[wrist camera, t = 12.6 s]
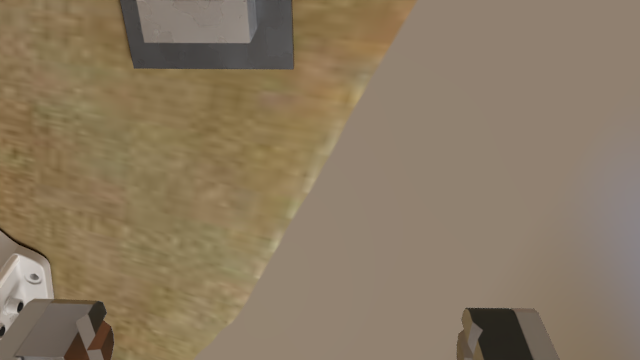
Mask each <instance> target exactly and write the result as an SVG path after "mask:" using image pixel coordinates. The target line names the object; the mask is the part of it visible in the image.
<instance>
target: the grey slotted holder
mask: <svg viewBox="0 0 640 360" xmlns="http://www.w3.org/2000/svg"><path fill="white" fill-rule="evenodd" d="M120 2H121V7H122V12H123V17H124V22H125V27H126V32H127V37H128V41H129V46H130V51H131V56H132V61H133V66H134V68H157V69H294V44H293V13H292V0H120Z"/></svg>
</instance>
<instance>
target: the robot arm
mask: <svg viewBox="0 0 640 360" xmlns="http://www.w3.org/2000/svg"><path fill="white" fill-rule="evenodd" d="M106 313H107V312H106V309H105V306H104V304H103V302H100V301H90V300H67V299H54V294H53V286H52V278H51V270H50V264H49V262H48V260H47V259H46V258H45V257H43V256H42V255H40V254H38V253H36V252H34V251H32V250H30V249H28V248H25V247H23V246H20V245H18V244H17V243H15V242H14V241H12V240H11V239H10V238H8V237H7V236H6V235H5V234H4V233H2V232H1V231H0V360H111V357H112V353H113V347H114V334H113V331H112V327H111V326H110V325H109V324H107V323H106V322H105V321H104V320H103V319H104V317H105V315H106ZM461 320H462V325H463V328H464V330H463V331H462V332H460V333H459V335H458V340H457V360H560V359H559V357H558V355H557V353H556V350H555V348H554V346H553V344H552V342H551V339H550V337H549V335H548V333H547V331H546V329H545V326H544V324H543V322H542V320H541V318H540V316H539V313H538V312H537V311H536V310H535V309H526V308H511V309H509V308H465V310H464V311H463V315H462V319H461Z"/></svg>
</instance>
